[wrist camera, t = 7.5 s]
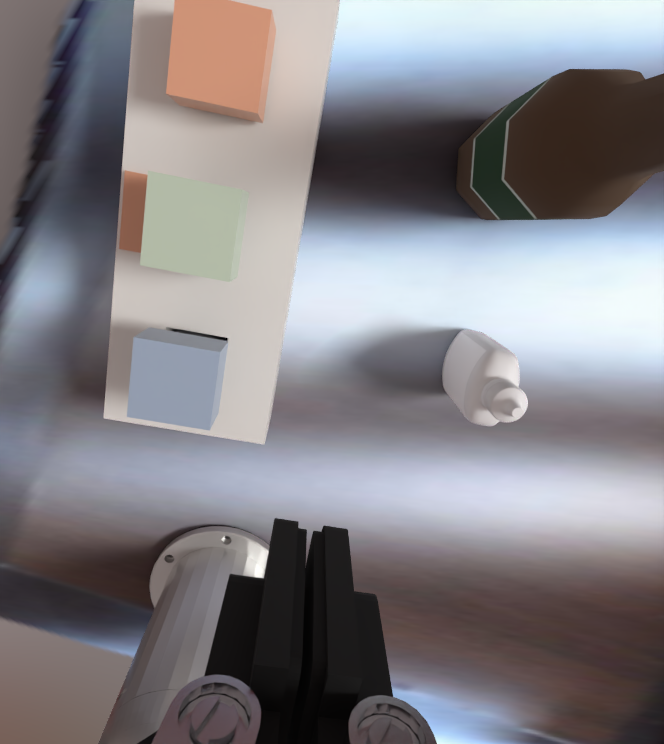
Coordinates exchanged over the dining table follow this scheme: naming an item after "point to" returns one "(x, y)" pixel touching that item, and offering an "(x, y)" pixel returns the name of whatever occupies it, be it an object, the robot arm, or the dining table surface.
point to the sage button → (193, 227)
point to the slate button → (177, 377)
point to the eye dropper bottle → (483, 379)
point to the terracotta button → (221, 57)
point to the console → (232, 169)
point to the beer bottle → (566, 147)
